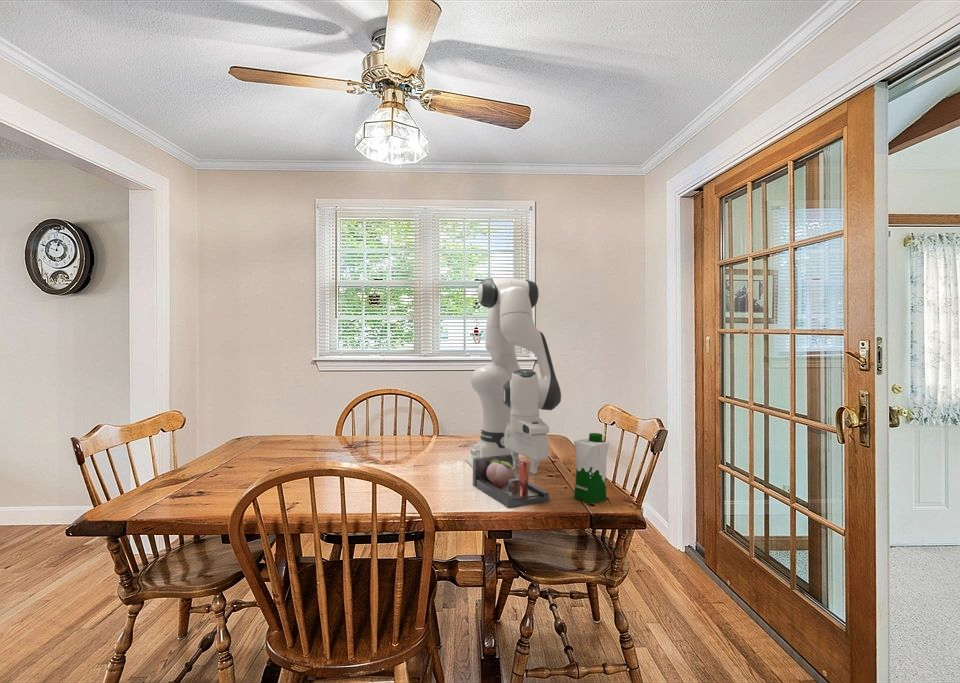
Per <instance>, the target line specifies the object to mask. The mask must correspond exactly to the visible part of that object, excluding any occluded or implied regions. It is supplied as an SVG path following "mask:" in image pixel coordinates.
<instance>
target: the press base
mask: <svg viewBox="0 0 960 683" xmlns="http://www.w3.org/2000/svg"><path fill="white" fill-rule="evenodd" d="M500 458H501V461H505V462H508V463H510V464H511V465H512V467H513V458H512V455H501V456H491V457H482V458H473V468H472V486H473V487H475V488H477V489H478V490H479V491H481V492H483V493H484V494H486V495H487V496H489V497H491V499H493V500H495V501H497V502H498V503H500V504H501V505H503V506H504V507H506V508H508V509H510V508H515V507H522V506H528V505H533V504H541V503H546V502H550V501H549V499H550V492H549V491H547V490H545V489H543V488H541V487H540V486H538V485H536V484H533V483H531V482H529V481H528V489H530V490H532V491H534V492H536V493H538V494H539V495H540V496H537V497H530V498H524V499H517V500H514V497H512V496H510V495H508V494H507V492H505V491H503V490H502V489H501V488H498V487H496V486H495V485H493V484H492V483H491V482H490V481H489V479H488V478H487V475H486V471H487V468H488V466H489V465H490V464H491V463H490V462H491V461H493V460H499V461H500ZM489 463H490V464H489ZM514 478H519V475H516V474H514V477H513V479H514Z"/></svg>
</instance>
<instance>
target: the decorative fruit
mask: <svg viewBox="0 0 960 683" xmlns="http://www.w3.org/2000/svg"><path fill="white" fill-rule="evenodd" d="M490 463H491V464H490ZM490 463H489V464H490V465H489V466H488V468H487V471H486V475H487V478H488V479H489V481H490V482H491V483H492V484H493V486H495V487H497V488H498V489H503V488H505V487H508V485H509V479H513V477H514V475H515V469H513V467H512V465H511V464H510V463H508V462H505V461H501V458H500V461H499V460H493V461H491V462H490Z"/></svg>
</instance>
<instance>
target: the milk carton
mask: <svg viewBox="0 0 960 683" xmlns="http://www.w3.org/2000/svg"><path fill="white" fill-rule="evenodd" d="M573 444H574V450H575V456H576V457H575V459H576V460H575V486H574V494H573V499H576V500H578V501H580V500H581V502H583V501H584V502H583V503H586V502H587V503H586V504H589V503H590V505H593V503H594V504H598V503H601V502H604V501H607V456H608V450H609V445H610V441H609V442H608V441H605V440H603V433H598V432H590V433H589V434H588V438H584V439H581V438H580V439H578V440H574V441H573ZM597 502H598V503H597Z"/></svg>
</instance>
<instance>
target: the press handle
mask: <svg viewBox="0 0 960 683" xmlns="http://www.w3.org/2000/svg"><path fill="white" fill-rule="evenodd" d="M520 461H521V460H520ZM529 467H530V465H529V462H528V461H525V460H524V461H523V460H522V461H521V462H519V466H518V477H519V478H514V479H509V485H507V487H508V492H506V493H507V494H508V495H510V496H512V497H514V500H517V499H524V498H530V497H537V496H540V495H539V494H538V493H536V492H534V491H532V490H530V489H528V482H529Z"/></svg>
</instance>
